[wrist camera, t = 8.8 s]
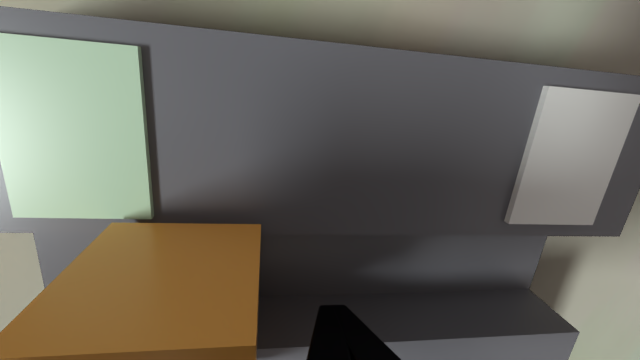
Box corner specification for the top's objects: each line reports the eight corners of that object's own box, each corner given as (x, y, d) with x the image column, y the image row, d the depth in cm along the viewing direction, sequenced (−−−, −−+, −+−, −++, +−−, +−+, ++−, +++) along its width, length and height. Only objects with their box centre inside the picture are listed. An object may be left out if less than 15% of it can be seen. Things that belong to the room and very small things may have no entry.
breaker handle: (262, 190, 11) (255, 345, 5) (258, 314, 12) (249, 550, 6) (148, 186, 10) (-28, 359, 4) (159, 318, 12) (43, 583, 6)
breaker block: (565, 77, 13) (693, 80, 9) (481, 350, 17) (543, 432, 13) (27, 21, 10) (-133, -10, 6) (89, 374, 14) (20, 491, 10)
